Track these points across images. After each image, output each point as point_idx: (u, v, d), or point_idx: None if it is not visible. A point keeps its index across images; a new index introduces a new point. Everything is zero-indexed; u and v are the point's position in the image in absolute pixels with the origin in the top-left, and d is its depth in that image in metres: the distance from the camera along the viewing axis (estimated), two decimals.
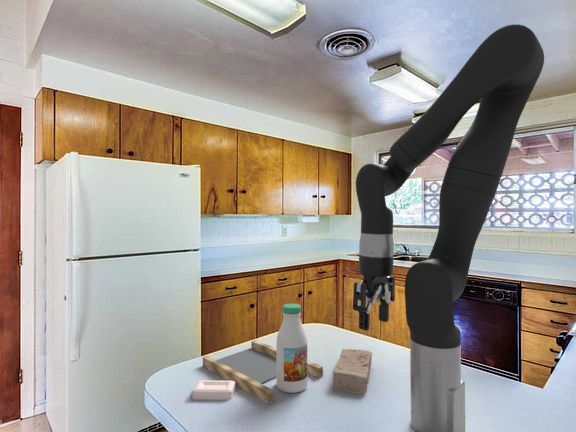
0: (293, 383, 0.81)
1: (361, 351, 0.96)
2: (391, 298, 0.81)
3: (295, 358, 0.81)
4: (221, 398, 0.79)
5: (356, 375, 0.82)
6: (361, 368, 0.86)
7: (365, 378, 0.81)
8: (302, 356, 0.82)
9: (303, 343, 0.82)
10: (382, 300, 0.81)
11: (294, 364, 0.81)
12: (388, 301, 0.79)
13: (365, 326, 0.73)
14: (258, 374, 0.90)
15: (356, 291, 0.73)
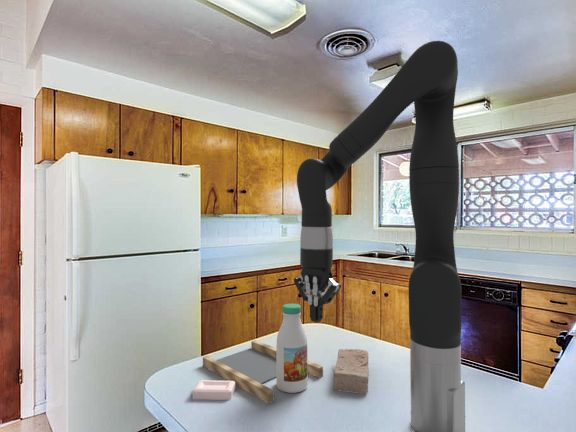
0: (293, 383, 0.81)
1: (358, 351, 0.96)
2: None
3: (295, 358, 0.81)
4: (221, 398, 0.79)
5: (357, 375, 0.82)
6: (361, 368, 0.86)
7: (367, 378, 0.82)
8: (302, 356, 0.82)
9: (303, 343, 0.82)
10: None
11: (294, 364, 0.81)
12: None
13: None
14: (258, 374, 0.90)
15: (332, 292, 0.75)
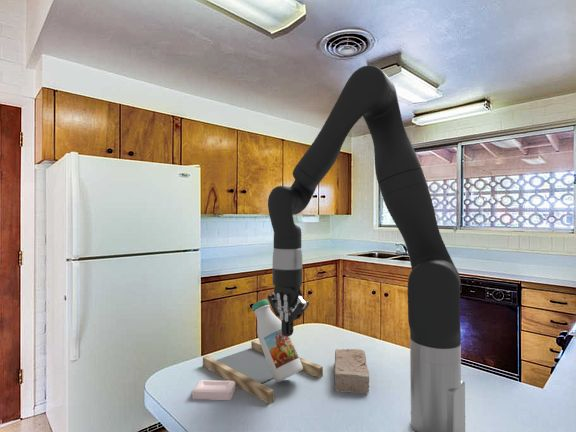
0: (285, 366, 0.83)
1: (354, 350, 0.96)
2: (284, 312, 0.88)
3: (277, 341, 0.85)
4: (221, 398, 0.79)
5: (359, 375, 0.82)
6: (361, 367, 0.86)
7: (368, 377, 0.82)
8: (283, 338, 0.86)
9: (280, 327, 0.88)
10: (284, 315, 0.86)
11: (278, 347, 0.85)
12: None
13: None
14: (258, 374, 0.90)
15: (301, 309, 0.82)
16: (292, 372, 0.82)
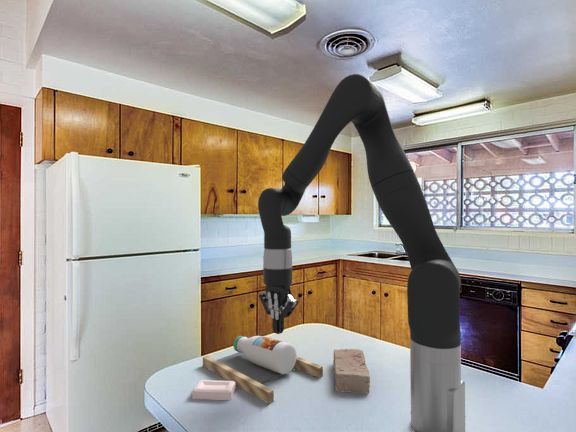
0: (278, 344, 0.91)
1: (353, 350, 0.96)
2: None
3: (264, 338, 0.95)
4: (220, 398, 0.79)
5: (359, 374, 0.82)
6: (361, 367, 0.86)
7: (368, 377, 0.82)
8: None
9: None
10: None
11: (267, 340, 0.94)
12: None
13: None
14: (258, 374, 0.90)
15: (290, 307, 0.84)
16: (286, 344, 0.91)
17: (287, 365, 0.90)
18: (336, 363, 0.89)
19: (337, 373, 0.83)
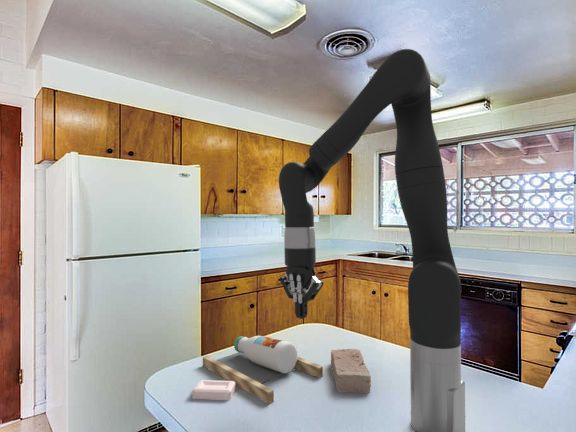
0: (280, 342, 0.92)
1: (350, 350, 0.97)
2: None
3: (266, 338, 0.96)
4: (220, 398, 0.79)
5: (360, 374, 0.82)
6: (361, 367, 0.87)
7: (369, 377, 0.82)
8: None
9: None
10: None
11: (268, 339, 0.95)
12: None
13: None
14: (258, 374, 0.90)
15: (315, 289, 0.79)
16: (288, 343, 0.91)
17: (287, 364, 0.90)
18: (335, 364, 0.89)
19: (338, 374, 0.83)
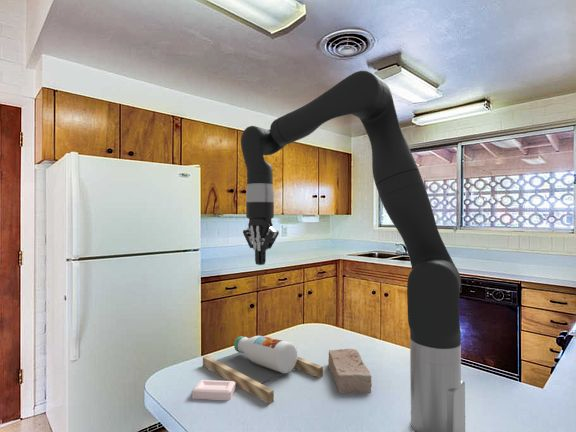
0: (280, 342, 0.92)
1: (348, 350, 0.97)
2: (258, 244, 0.96)
3: (266, 338, 0.96)
4: (220, 398, 0.79)
5: (362, 374, 0.82)
6: (360, 367, 0.87)
7: (370, 376, 0.82)
8: None
9: None
10: (257, 246, 0.94)
11: (268, 339, 0.95)
12: None
13: None
14: (258, 374, 0.90)
15: (271, 237, 0.90)
16: (288, 343, 0.91)
17: (287, 364, 0.90)
18: (335, 364, 0.88)
19: (339, 374, 0.83)
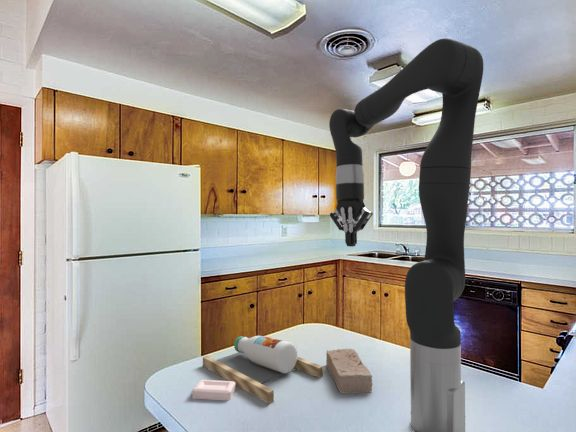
0: (280, 342, 0.92)
1: (346, 350, 0.97)
2: None
3: (266, 338, 0.96)
4: (220, 398, 0.79)
5: (362, 374, 0.82)
6: (360, 367, 0.87)
7: (371, 376, 0.83)
8: None
9: None
10: (347, 228, 0.94)
11: (268, 339, 0.95)
12: None
13: None
14: (258, 374, 0.90)
15: (366, 218, 0.90)
16: (288, 343, 0.91)
17: (287, 364, 0.90)
18: (335, 364, 0.88)
19: (340, 375, 0.82)
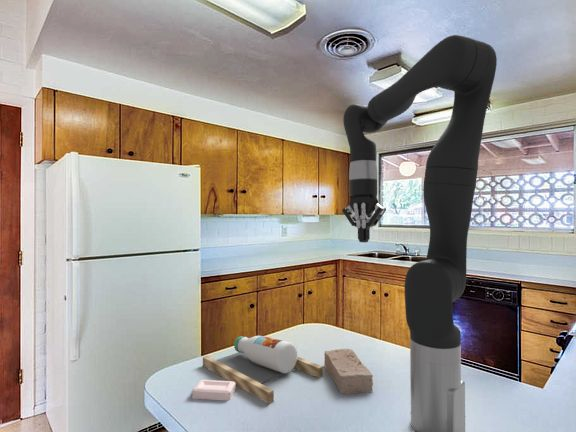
0: (280, 342, 0.92)
1: (343, 350, 0.97)
2: None
3: (266, 338, 0.96)
4: (220, 398, 0.79)
5: (363, 374, 0.82)
6: (360, 367, 0.87)
7: (372, 375, 0.83)
8: None
9: None
10: None
11: (268, 339, 0.95)
12: None
13: None
14: (258, 374, 0.90)
15: (379, 214, 0.89)
16: (288, 343, 0.91)
17: (287, 364, 0.90)
18: (334, 365, 0.88)
19: (341, 375, 0.82)
